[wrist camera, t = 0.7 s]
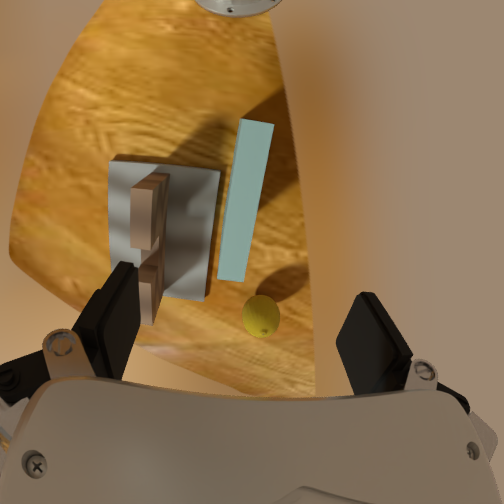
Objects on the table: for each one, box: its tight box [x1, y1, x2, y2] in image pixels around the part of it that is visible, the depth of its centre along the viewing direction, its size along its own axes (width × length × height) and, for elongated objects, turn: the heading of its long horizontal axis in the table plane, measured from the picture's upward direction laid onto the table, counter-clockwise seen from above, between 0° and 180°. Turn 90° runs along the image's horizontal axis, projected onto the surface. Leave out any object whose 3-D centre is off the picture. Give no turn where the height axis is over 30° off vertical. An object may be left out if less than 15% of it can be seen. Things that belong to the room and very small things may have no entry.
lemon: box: [242, 295, 280, 338], centre depth 40 cm, size 6×6×8 cm
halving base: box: [108, 160, 221, 326], centre depth 34 cm, size 20×15×9 cm
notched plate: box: [217, 119, 274, 282], centre depth 28 cm, size 14×2×14 cm, turn 170°
